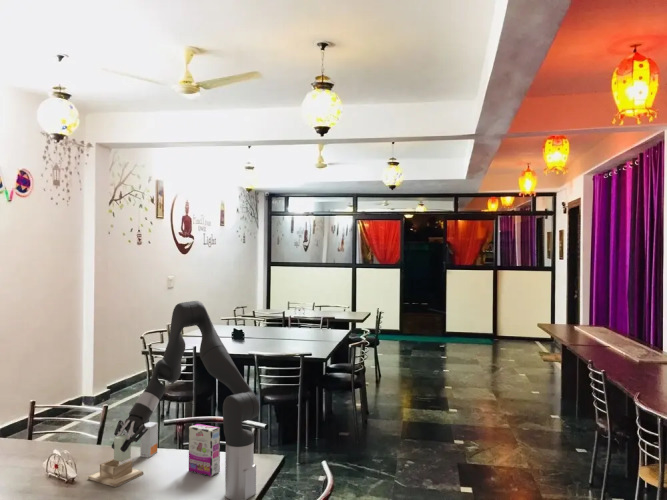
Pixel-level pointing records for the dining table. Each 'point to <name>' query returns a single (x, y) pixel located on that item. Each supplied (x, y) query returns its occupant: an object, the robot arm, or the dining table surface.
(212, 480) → the dining table surface
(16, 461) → the dining table surface
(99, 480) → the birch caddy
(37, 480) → the dining table surface
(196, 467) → the candy bar box
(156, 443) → the skincare box
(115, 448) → the sage peg
